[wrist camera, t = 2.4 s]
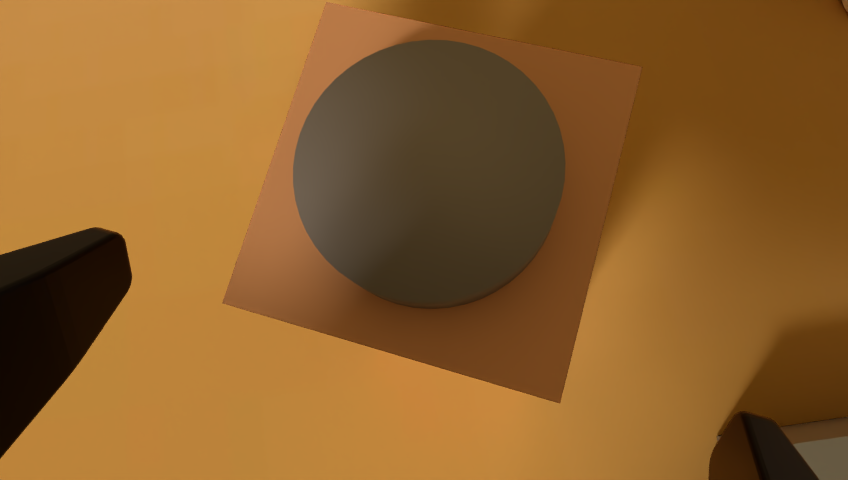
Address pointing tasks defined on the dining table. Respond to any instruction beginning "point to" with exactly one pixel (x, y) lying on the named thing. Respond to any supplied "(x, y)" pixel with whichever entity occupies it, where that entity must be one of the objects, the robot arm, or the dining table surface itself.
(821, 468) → the tray
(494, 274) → the block
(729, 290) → the dining table surface
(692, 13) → the dining table surface
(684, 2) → the dining table surface
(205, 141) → the dining table surface
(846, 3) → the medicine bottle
